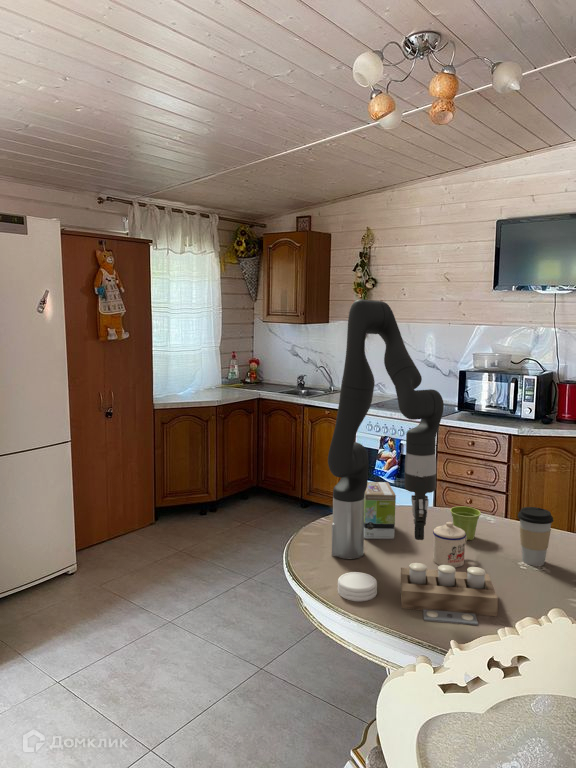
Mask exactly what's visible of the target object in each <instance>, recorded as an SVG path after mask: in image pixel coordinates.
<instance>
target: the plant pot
mask: <svg viewBox="0 0 576 768" xmlns="http://www.w3.org/2000/svg"><path fill="white" fill-rule="evenodd" d="M449 511H450V513H451V517H452V523H453V525H454V526H456V527H458V528H460V529H462V530H464V531H465V534H466V537H467V541H468V540H470V541H472V540H474V539H475V535H476V532H477V531H476V530H477V525H478V520H479V519H480V516H481V515H482V513H481V511H480V510H479V509H477V508H474V507H471V506H462V505H461V506H460V505H459V506H453V507H451V508H450V509H449Z"/></svg>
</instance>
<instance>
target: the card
mask: <svg viewBox="0 0 576 768" xmlns="http://www.w3.org/2000/svg"><path fill="white" fill-rule="evenodd" d="M422 615H423V620H424V621H427V622H439V623H449V624H451V623H452V624H460V625H461V624H463V625H470V626H471V625H472V626H478V625H479V622H478V619H477V615H475V614H473V613H461V612H450V611H438V610H426V609H423V610H422Z"/></svg>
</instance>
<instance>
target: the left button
mask: <svg viewBox="0 0 576 768" xmlns="http://www.w3.org/2000/svg"><path fill="white" fill-rule="evenodd" d="M408 568H410V577H409V582H410V583H411V584H420V585H424V584H425V583H426V569H427V568H428V567H427V565H426V564H425V563H419V562H412V563H410V564H409V567H408Z"/></svg>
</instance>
